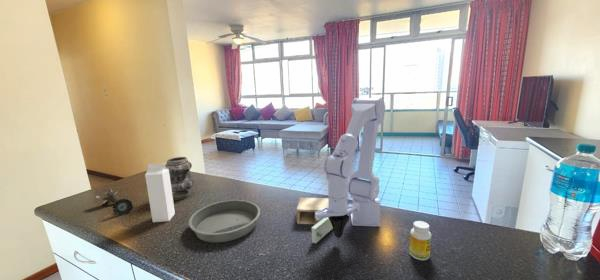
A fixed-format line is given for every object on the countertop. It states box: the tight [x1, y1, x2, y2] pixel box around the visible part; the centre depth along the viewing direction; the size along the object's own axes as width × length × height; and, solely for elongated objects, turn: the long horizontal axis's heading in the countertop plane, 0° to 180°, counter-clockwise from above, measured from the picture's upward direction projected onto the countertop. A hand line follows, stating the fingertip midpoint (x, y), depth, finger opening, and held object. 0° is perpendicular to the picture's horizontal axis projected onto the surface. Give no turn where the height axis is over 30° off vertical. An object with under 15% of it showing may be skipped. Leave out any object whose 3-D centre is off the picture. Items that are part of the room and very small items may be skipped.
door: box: [311, 217, 333, 245], centre depth 82 cm, size 12×3×6 cm, turn 142°
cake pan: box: [188, 199, 261, 243], centre depth 91 cm, size 25×25×4 cm
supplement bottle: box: [408, 220, 432, 261], centre depth 71 cm, size 5×5×10 cm
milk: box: [144, 162, 176, 223], centre depth 96 cm, size 6×6×22 cm
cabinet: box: [296, 197, 328, 225], centre depth 94 cm, size 14×10×6 cm
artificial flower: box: [95, 187, 134, 217], centre depth 108 cm, size 9×22×10 cm, turn 46°
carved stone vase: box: [165, 156, 195, 201], centre depth 117 cm, size 12×12×18 cm
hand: (337, 236), depth 78 cm, fingers closed
